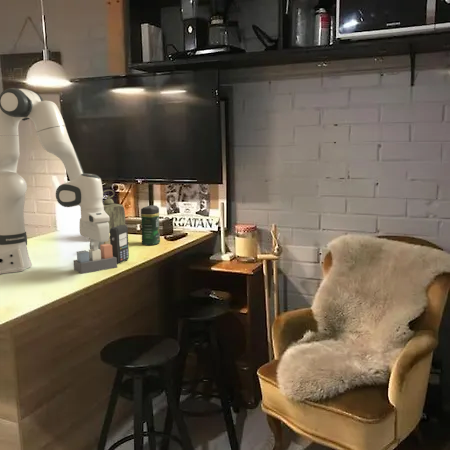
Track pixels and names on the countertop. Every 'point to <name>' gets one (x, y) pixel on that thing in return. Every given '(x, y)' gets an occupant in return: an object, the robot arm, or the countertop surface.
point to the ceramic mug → (102, 244)
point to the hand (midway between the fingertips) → (94, 249)
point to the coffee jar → (150, 225)
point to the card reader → (119, 243)
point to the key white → (94, 254)
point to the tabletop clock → (114, 212)
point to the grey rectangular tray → (95, 265)
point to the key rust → (106, 251)
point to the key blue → (82, 256)
